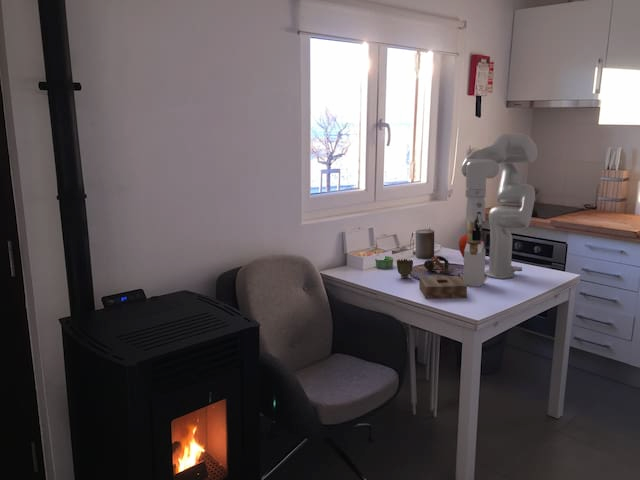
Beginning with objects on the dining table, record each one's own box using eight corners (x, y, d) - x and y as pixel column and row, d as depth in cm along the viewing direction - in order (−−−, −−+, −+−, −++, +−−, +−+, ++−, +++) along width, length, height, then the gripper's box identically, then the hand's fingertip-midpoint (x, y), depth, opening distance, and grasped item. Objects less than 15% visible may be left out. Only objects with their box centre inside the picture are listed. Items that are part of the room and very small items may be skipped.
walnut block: (458, 287, 230) (458, 275, 229) (466, 297, 216) (467, 285, 215) (419, 288, 230) (419, 276, 229) (425, 298, 216) (425, 286, 215)
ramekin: (397, 267, 264) (397, 258, 263) (383, 270, 259) (383, 261, 258) (384, 263, 271) (384, 254, 270) (371, 266, 266) (371, 257, 265)
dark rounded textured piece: (412, 280, 241) (412, 263, 240) (396, 279, 243) (396, 262, 241) (413, 275, 249) (413, 258, 247) (397, 275, 250) (397, 258, 248)
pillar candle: (437, 256, 282) (438, 227, 279) (427, 259, 275) (427, 230, 272) (422, 253, 288) (422, 226, 285) (411, 257, 281) (411, 229, 278)
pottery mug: (436, 268, 262) (444, 254, 258) (445, 281, 255) (454, 267, 251) (416, 265, 256) (425, 252, 252) (426, 278, 249) (434, 264, 245)
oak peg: (477, 252, 218) (479, 219, 215) (482, 255, 213) (483, 221, 210) (464, 252, 218) (465, 219, 215) (468, 255, 213) (470, 222, 210)
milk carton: (479, 287, 229) (481, 243, 225) (463, 285, 233) (464, 242, 229) (484, 282, 235) (486, 240, 231) (468, 280, 239) (469, 238, 234)
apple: (453, 259, 274) (453, 232, 270) (471, 256, 279) (472, 229, 276) (470, 265, 263) (471, 237, 260) (488, 261, 268) (489, 234, 265)
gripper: (492, 195, 202) (490, 243, 206) (478, 190, 219) (476, 234, 223) (472, 196, 202) (471, 243, 206) (459, 190, 219) (458, 234, 223)
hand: (473, 238), depth 214 cm, fingers closed on oak peg, 5 cm apart
